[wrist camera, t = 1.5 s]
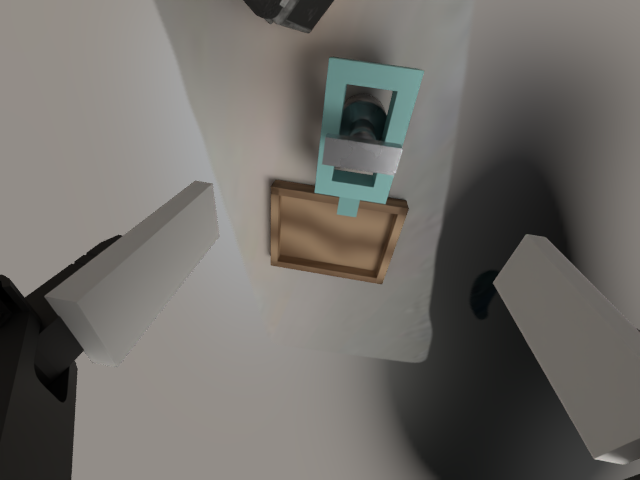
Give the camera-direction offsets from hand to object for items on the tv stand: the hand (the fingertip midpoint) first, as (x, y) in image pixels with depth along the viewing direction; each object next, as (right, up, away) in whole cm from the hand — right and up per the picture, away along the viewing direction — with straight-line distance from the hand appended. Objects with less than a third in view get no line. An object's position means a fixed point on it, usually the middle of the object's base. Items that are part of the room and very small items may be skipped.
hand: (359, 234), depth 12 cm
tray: (0, +1, +26) cm, 26 cm away
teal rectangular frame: (+2, +10, +14) cm, 17 cm away
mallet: (+3, +13, +18) cm, 22 cm away
